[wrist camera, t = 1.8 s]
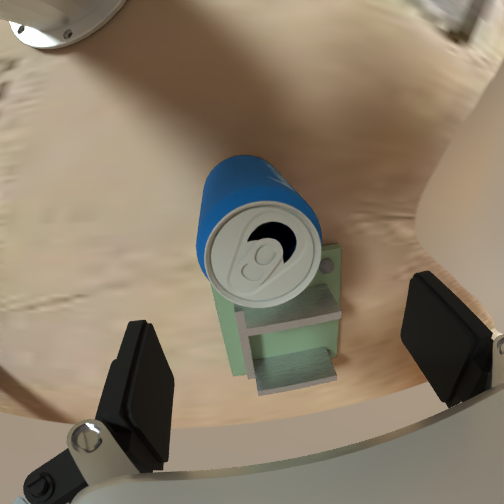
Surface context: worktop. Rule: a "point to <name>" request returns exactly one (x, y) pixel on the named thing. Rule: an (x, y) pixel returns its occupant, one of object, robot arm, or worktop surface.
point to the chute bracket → (282, 318)
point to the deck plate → (287, 338)
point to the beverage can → (256, 234)
